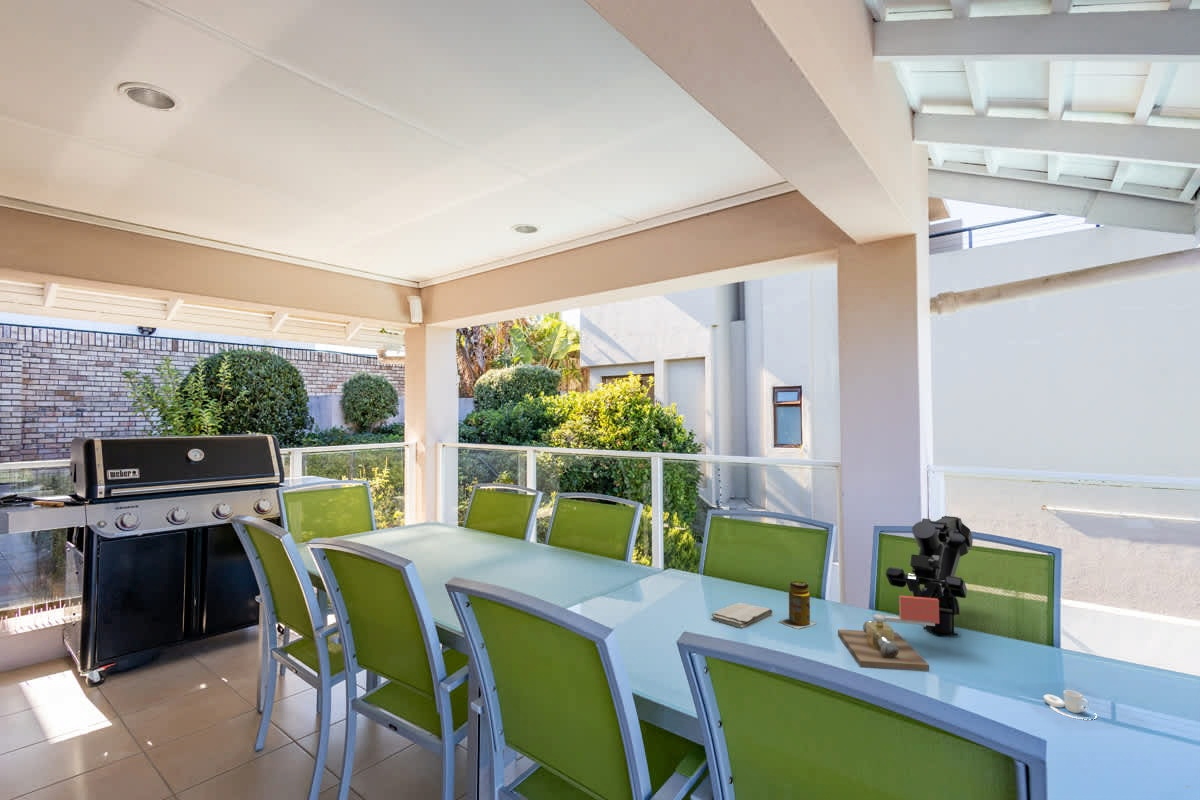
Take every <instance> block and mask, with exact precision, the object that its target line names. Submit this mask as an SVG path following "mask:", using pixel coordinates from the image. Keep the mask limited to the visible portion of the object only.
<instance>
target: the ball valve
mask: <svg viewBox="0 0 1200 800" xmlns="http://www.w3.org/2000/svg"><path fill="white" fill-rule="evenodd" d="M862 629H863V630H862V631H864V632H865V633H866V641H867V643H868V644H869V645H870V646H871V648H872V649H875V650H879V651H880V652H881V653H882V654H884V655H885V656H886V657H888V658H894V657H896V656H897V654H898V652H899V649H898V647H897V645H896V644H895V643H894V632H895V631H894V629H893V628H892V627H891V626H890V625H889V624H888V623H887V622H877V621H874V620H867V621H865V622H864V623H863V625H862Z"/></svg>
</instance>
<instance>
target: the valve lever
mask: <svg viewBox="0 0 1200 800" xmlns="http://www.w3.org/2000/svg"><path fill="white" fill-rule="evenodd" d="M898 598H899V599H898V601H899V603H898V604H899V605H898V606H899V616H891V615H890V616H889V615H883V614H880V613H875V614H873V621H874V622H876V621H877V622H883V623H887V622H888V623H897V624H899V623H900V624H906V625H907V624H908V625H921V626H926V625H929V626H935V623H937V624H939V600H938V599H937V598H925V597H914V596H912V595H911V596H909V595H899V597H898Z"/></svg>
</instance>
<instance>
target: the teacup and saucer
mask: <svg viewBox="0 0 1200 800" xmlns="http://www.w3.org/2000/svg"><path fill="white" fill-rule="evenodd" d="M1063 698H1064V699H1062V698H1061V697H1059V696H1057V695H1055V694H1049V693H1047V694H1044V695H1043V700H1044V702H1045V703H1046V704H1048V705H1049V708H1050V709H1051V710H1052V711H1054V712H1056V713H1058V714H1060V715H1063V716H1064V717H1067V718H1071V719H1075V718H1076V720H1080V719H1082V721H1094V719H1095V720H1097V719H1098V717H1097V716H1098V714H1097V713H1096V712H1095V713H1094V714H1095V715H1096V716H1095V718H1094V719H1093V720H1091V719H1089V720H1087V719H1084V720H1083V718H1084V717H1080V718H1077V717H1078V716H1074V717H1073V715H1069V714H1067V713H1064V712H1062V711H1061V710H1059V708H1060V709H1061V708H1064V707H1065V708H1066V710H1067V711H1068V712H1070V713H1074V714H1080V713H1081V712H1084V711H1086V709H1087V708H1088V709H1089V701H1088V700H1087V699H1086V698H1083V694H1082V693H1080V692H1078V691H1075V690H1073V689H1072V690H1071V689H1065V690H1063ZM1083 701H1084V702H1085V703H1086V705H1085V707H1086V708H1085V709H1082V707H1083ZM1057 708H1058V709H1057ZM1096 718H1097V719H1096Z"/></svg>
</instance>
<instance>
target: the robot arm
mask: <svg viewBox="0 0 1200 800" xmlns="http://www.w3.org/2000/svg"><path fill="white" fill-rule="evenodd" d="M911 531H912V535H913V538H914V539H915V542H916V545H917V547H919V549H918V550H919V551H918V554H915V553H913V554H910V565H909V566H910V567H911V572H912V573H906V574H905V571H904V568H899V567H898V568H897V567H893V566H892V567H891V566H890V567H888V568H887V569H886V571H885V576H886V579H887V581H888V583H889V585H890V586H891V587H897V588H904V587H906V586H907V588H908V591H909V592H912V594H913V597H925V598H937V599H938V600H939V624H937V623H935V626H929V625H925V626H923V629H924V630H925V631H927V632H929V633H931V634H933V635H934V636H937V637H950V636H951V637H952V636H959V633H958V632H956V631H955V616H959V615H960V612H961V611H960V605H959V604H960V603H959V601H958V600H959V599H957V598H961V599H966V598H967V596H968V595H967V593H968V589H967V584H966V582H965V580H964V578H963V577H958V576H955V575H956V571H957V568H958V565H959V562H960V558H961V557H963V556H965V555H967V554H968V553H969V552H970V548H972V546H973V543H974V542H973V536H972V532H971V529H970V528H969V527H968V526H966V525H965V524H964V523H963V521H962V519H961V517H960V518H959V517H958V516H951V515H950V516H948V515H944V516H941V518H940V519H938V520H935V521H933V520H931V518H922V519H921V521H918V522H917V523H915V524H913V525H912V528H911ZM922 585H923V587H922V588H921V586H922Z"/></svg>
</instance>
